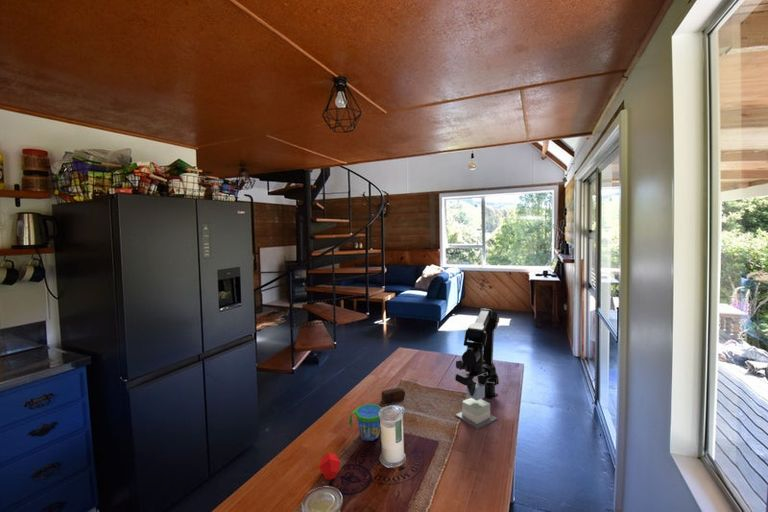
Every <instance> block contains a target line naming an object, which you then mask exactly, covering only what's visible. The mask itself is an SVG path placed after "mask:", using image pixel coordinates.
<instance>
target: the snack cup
mask: <svg viewBox="0 0 768 512" xmlns="http://www.w3.org/2000/svg"><path fill="white" fill-rule="evenodd" d="M381 408H382V407H381V406H380V405H378V404H374V403H366V404H362V405H360V406H358V407H357V408H356V409H354V410H353V411H351V414H350V416H349V426H350V427H352V426H353V425H354V424H353V423H354V422H353V418H352V417H353V415H355V417H356V420H357V426H358V427H357V428H358V433H359V437H360V438H361V439H362V440H363V441H367V442H369V441H372V442H373V441H374V440H376V439H378V438H379V437H380V434H381V433H380V432H381V427H380V419H379V414H378V412H379V410H380V409H381ZM374 442H375V441H374Z"/></svg>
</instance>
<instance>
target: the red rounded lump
mask: <svg viewBox="0 0 768 512" xmlns="http://www.w3.org/2000/svg"><path fill="white" fill-rule="evenodd" d="M340 465H341V460H340V459H339V458H338V456H337V455H336V454H335V453H331V452H329V451H327V453H326V454H324V455H323V456H322V457H321V460H320V463H319V466H318V467H319V469H320V471H321V473H322V474H323V476H324V478H325V480H326V481H329V480H330V481H331V480H334V479H336V477H337V476H338V474H339V471H340V470H339V469H340V467H341V466H340Z"/></svg>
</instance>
